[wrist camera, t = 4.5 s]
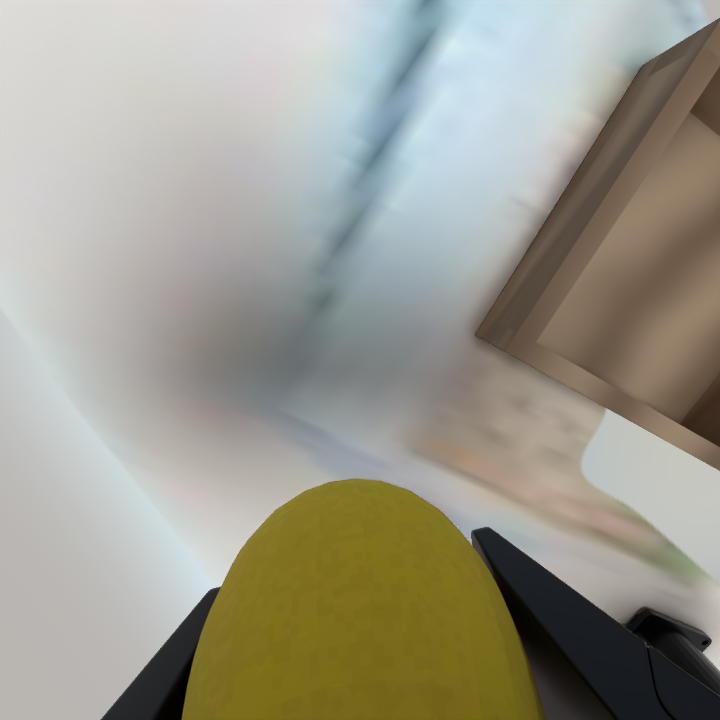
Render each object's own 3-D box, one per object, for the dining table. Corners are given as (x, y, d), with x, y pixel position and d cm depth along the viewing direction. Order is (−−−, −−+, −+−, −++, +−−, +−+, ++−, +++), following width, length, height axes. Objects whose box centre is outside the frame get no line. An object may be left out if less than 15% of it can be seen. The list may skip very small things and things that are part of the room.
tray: (836, 223, 19) (944, 216, 16) (663, 439, 22) (722, 472, 19) (642, 65, 16) (723, 15, 13) (474, 335, 19) (504, 351, 16)
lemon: (438, 582, 11) (669, 1297, 3) (255, 590, 11) (62, 1423, 3) (455, 417, 10) (925, 1043, 2) (243, 420, 9) (-201, 1230, 2)
